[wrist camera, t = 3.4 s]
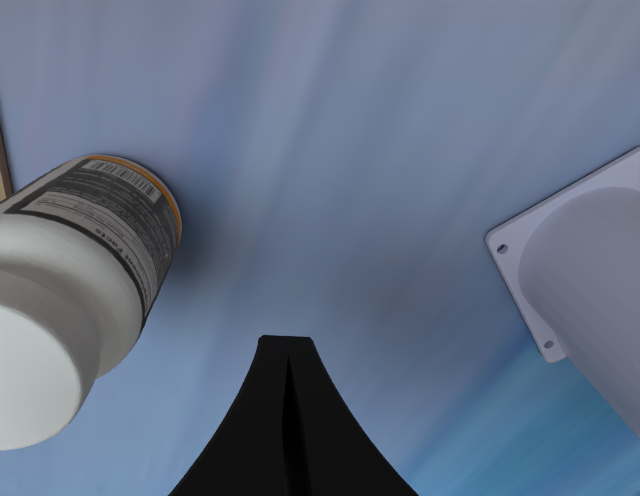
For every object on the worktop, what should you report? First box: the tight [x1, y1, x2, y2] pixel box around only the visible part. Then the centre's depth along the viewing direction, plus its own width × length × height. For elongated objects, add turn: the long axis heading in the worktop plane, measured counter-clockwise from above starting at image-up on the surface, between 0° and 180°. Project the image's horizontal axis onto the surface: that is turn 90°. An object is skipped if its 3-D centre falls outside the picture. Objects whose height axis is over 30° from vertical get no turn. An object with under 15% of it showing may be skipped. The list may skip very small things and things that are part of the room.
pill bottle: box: [0, 155, 182, 450], centre depth 14 cm, size 6×6×10 cm
